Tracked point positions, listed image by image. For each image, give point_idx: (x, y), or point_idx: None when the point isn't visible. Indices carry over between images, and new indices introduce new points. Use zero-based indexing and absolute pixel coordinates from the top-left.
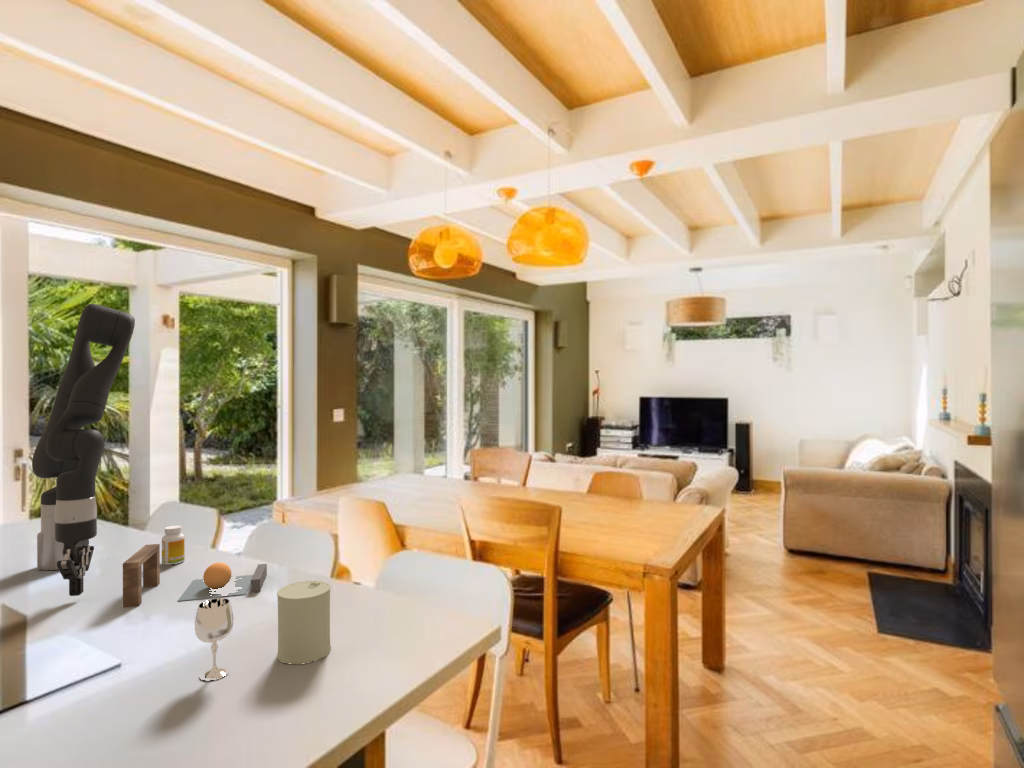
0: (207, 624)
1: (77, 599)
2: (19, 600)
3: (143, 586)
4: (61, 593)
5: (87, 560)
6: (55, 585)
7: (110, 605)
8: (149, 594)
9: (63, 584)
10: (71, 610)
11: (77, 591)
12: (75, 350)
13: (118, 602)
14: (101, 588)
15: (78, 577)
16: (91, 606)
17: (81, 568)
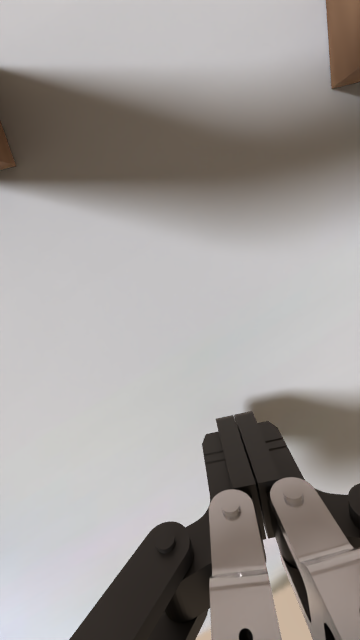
0: None
1: (203, 421)
2: None
3: (12, 161)
4: (119, 530)
5: (233, 624)
6: (21, 605)
7: (325, 191)
8: (152, 22)
9: (6, 587)
10: (355, 357)
11: (273, 428)
12: None
13: (282, 170)
14: (47, 407)
15: (314, 492)
16: (319, 293)
17: (308, 556)
